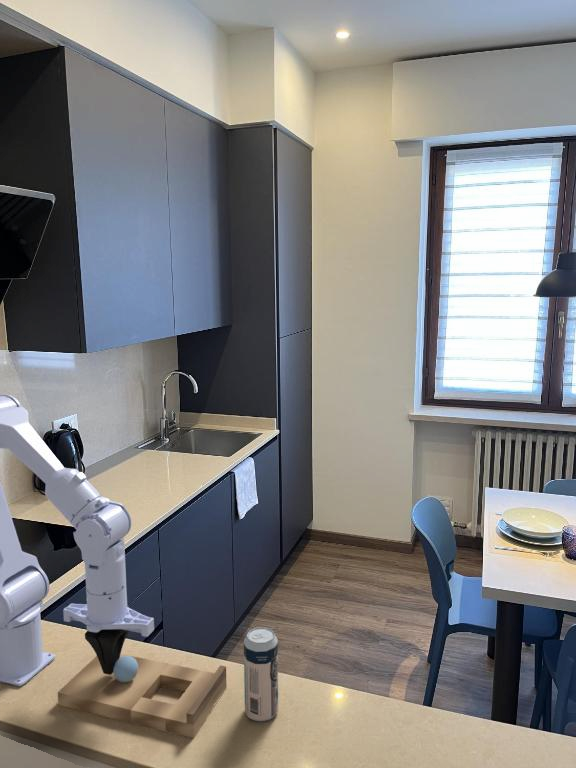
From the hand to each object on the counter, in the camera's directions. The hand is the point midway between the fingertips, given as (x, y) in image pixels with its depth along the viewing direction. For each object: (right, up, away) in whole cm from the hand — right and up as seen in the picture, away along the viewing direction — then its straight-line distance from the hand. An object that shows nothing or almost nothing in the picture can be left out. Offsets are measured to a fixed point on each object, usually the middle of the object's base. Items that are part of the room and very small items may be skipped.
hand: (110, 670), depth 89 cm
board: (+5, -3, -1) cm, 6 cm away
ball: (+3, +1, -1) cm, 3 cm away
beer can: (+23, -4, -5) cm, 24 cm away
